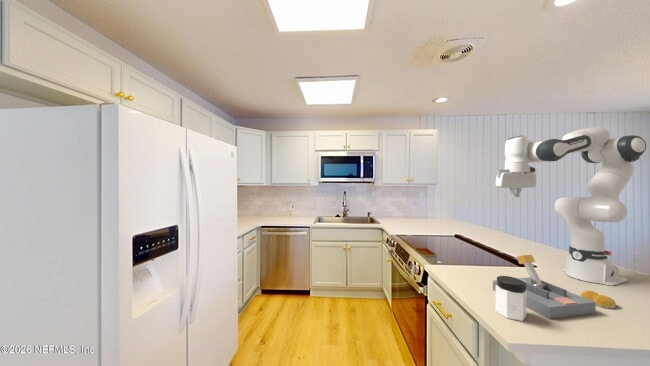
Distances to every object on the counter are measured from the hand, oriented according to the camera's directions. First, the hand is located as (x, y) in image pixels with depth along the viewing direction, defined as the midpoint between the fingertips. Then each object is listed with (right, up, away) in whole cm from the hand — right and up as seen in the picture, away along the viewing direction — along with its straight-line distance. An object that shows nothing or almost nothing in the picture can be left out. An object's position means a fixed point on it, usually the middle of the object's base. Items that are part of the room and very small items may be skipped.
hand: (515, 197), depth 117 cm
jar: (-29, -40, -33) cm, 59 cm away
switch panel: (-10, -39, -24) cm, 47 cm away
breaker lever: (-10, -35, -24) cm, 44 cm away
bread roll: (+11, -40, -25) cm, 48 cm away
